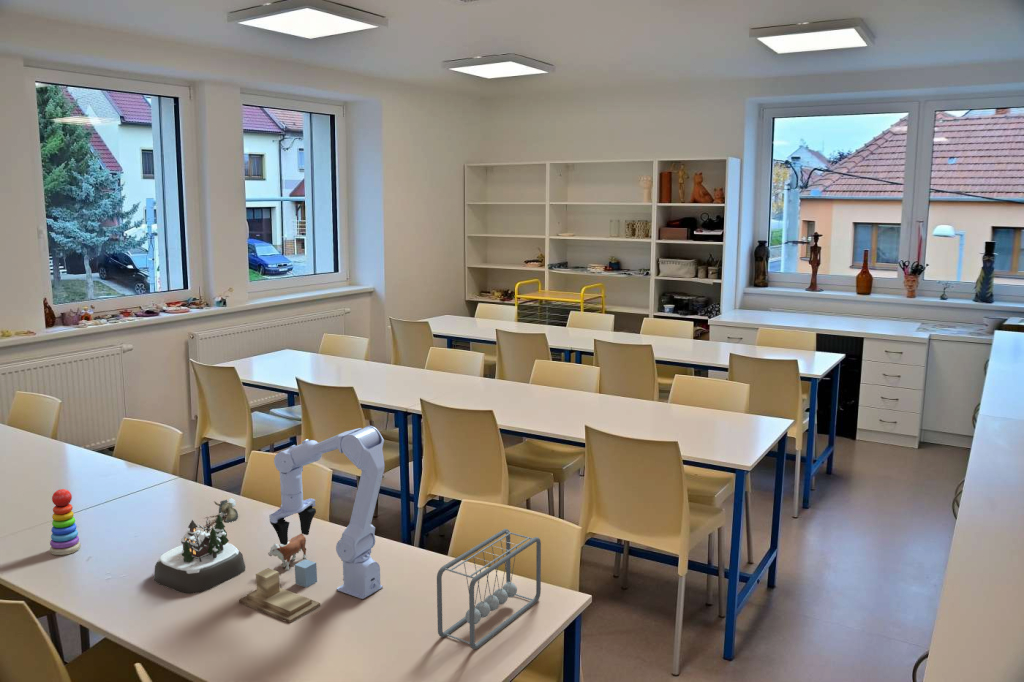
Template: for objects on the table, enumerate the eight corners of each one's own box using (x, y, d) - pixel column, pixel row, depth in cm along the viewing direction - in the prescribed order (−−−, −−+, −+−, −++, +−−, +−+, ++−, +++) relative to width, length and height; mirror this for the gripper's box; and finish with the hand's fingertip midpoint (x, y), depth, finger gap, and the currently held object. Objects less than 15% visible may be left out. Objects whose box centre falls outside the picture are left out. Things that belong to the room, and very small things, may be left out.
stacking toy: (67, 557, 234) (61, 495, 231) (43, 555, 236) (37, 494, 233) (87, 546, 242) (81, 486, 239) (63, 543, 244) (57, 484, 240)
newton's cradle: (507, 588, 215) (507, 525, 212) (541, 599, 210) (541, 534, 206) (436, 640, 191) (435, 569, 188) (472, 653, 185) (472, 581, 182)
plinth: (320, 605, 206) (320, 598, 206) (290, 623, 198) (289, 615, 198) (269, 586, 217) (269, 579, 216) (238, 602, 208) (238, 595, 208)
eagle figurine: (207, 513, 264) (213, 517, 256) (218, 492, 266) (224, 496, 258) (229, 521, 268) (235, 525, 260) (239, 501, 270) (246, 504, 262)
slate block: (317, 581, 219) (316, 562, 218) (306, 587, 216) (305, 568, 215) (306, 578, 222) (305, 559, 221) (295, 583, 218) (294, 564, 217)
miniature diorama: (207, 552, 238) (203, 497, 235) (253, 568, 228) (249, 511, 225) (145, 579, 221) (140, 520, 218) (192, 598, 211) (187, 536, 208)
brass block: (279, 591, 210) (278, 571, 209) (267, 598, 206) (266, 577, 205) (269, 587, 212) (268, 568, 211) (256, 593, 209) (255, 574, 208)
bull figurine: (266, 573, 225) (265, 545, 223) (300, 554, 236) (298, 527, 235) (278, 576, 223) (276, 548, 221) (311, 557, 234) (310, 530, 233)
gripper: (301, 481, 228) (304, 526, 231) (260, 497, 216) (263, 545, 219) (319, 485, 225) (322, 532, 227) (278, 502, 213) (281, 551, 215)
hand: (294, 538), depth 223 cm, fingers open, 7 cm apart
